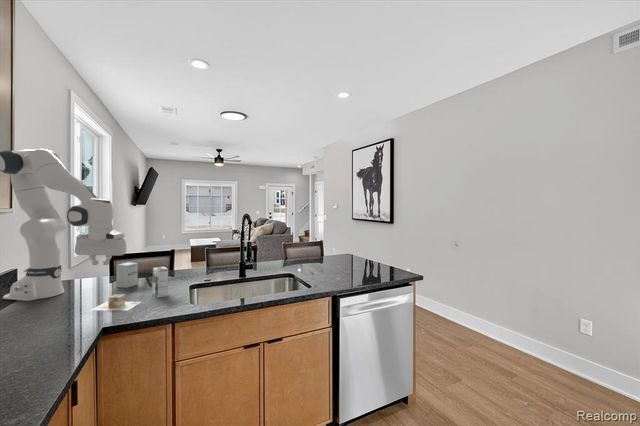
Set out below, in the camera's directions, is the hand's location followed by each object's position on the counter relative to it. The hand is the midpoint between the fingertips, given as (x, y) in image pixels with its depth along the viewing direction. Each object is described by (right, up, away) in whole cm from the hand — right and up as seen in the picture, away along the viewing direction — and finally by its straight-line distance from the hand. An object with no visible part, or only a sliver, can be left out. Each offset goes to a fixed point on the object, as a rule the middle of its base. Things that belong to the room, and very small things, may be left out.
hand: (100, 264), depth 129 cm
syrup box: (+17, -19, +17) cm, 31 cm away
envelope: (+6, -19, +1) cm, 20 cm away
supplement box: (-10, -18, +32) cm, 38 cm away
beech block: (+6, -19, +1) cm, 20 cm away
